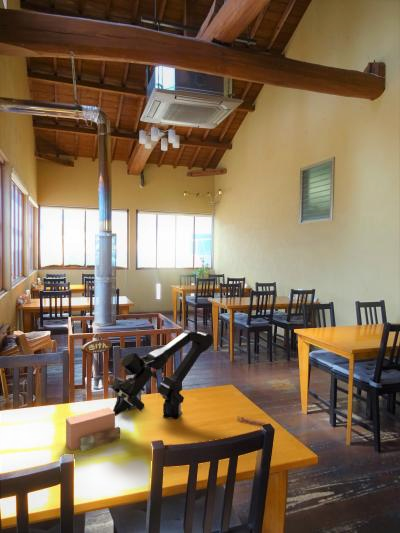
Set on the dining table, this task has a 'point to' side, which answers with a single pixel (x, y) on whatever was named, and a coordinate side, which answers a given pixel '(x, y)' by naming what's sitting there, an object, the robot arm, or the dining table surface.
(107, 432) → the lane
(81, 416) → the block
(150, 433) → the dining table surface
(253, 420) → the chocolate bar
